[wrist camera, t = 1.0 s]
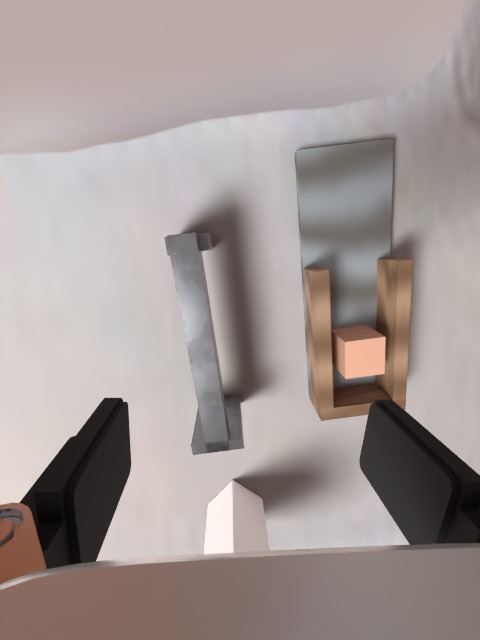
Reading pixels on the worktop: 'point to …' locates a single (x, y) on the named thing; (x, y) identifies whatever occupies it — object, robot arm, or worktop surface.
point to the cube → (358, 351)
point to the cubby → (351, 271)
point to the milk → (235, 522)
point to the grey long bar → (203, 348)
